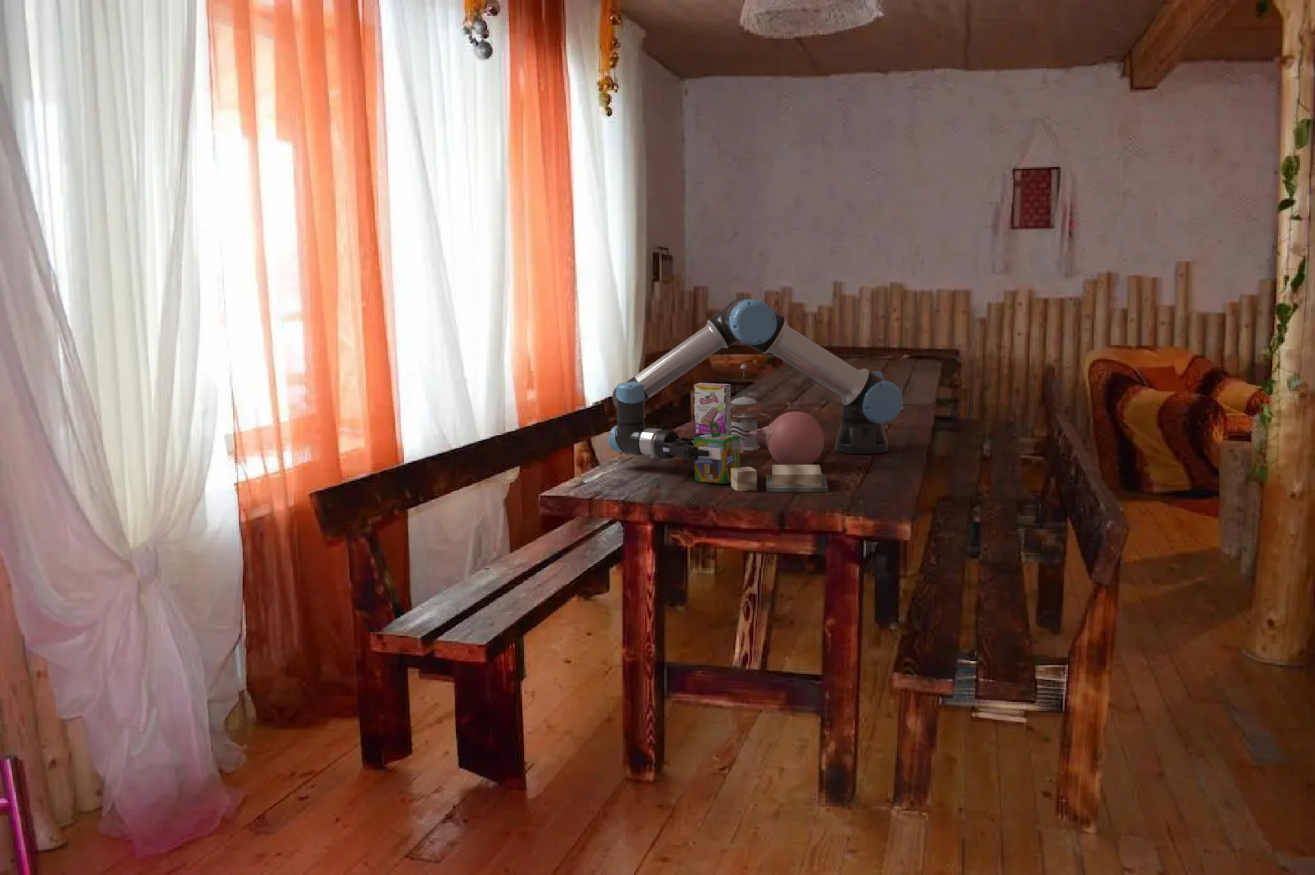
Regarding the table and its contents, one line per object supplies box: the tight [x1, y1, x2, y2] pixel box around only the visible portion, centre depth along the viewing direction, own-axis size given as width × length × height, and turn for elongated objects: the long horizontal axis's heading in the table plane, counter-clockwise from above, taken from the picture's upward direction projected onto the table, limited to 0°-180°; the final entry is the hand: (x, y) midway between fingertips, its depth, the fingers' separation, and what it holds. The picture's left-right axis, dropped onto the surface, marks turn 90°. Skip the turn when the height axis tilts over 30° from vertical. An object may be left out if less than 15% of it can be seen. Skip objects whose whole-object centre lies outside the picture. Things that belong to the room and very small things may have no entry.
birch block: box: [730, 466, 758, 492], centre depth 266 cm, size 5×5×5 cm
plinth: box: [765, 464, 829, 493], centre depth 268 cm, size 15×15×4 cm
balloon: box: [749, 410, 825, 465], centre depth 289 cm, size 15×20×15 cm
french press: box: [724, 364, 761, 451], centre depth 320 cm, size 10×12×25 cm
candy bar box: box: [693, 382, 732, 436], centre depth 344 cm, size 11×5×16 cm, turn 65°
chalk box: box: [694, 422, 741, 485], centre depth 275 cm, size 9×9×15 cm
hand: (731, 450), depth 273 cm, fingers closed on chalk box, 10 cm apart
